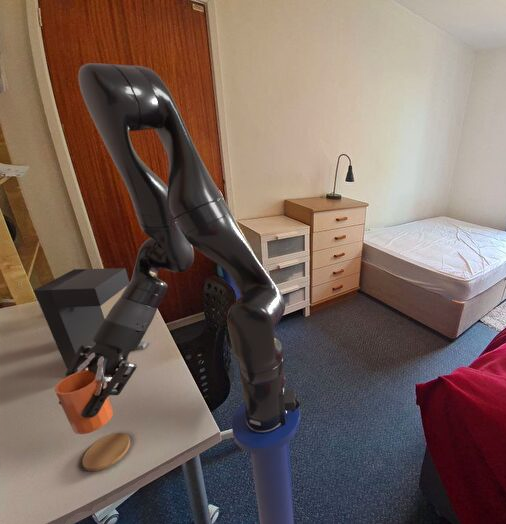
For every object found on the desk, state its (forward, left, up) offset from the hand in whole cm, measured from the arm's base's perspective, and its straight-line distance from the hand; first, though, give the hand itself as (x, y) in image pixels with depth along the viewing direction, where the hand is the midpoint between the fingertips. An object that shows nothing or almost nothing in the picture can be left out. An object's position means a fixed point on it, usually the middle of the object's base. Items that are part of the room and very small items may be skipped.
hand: (76, 410), depth 52 cm
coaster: (-1, -1, -14) cm, 14 cm away
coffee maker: (+15, -31, -14) cm, 37 cm away
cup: (-1, -1, -5) cm, 5 cm away
